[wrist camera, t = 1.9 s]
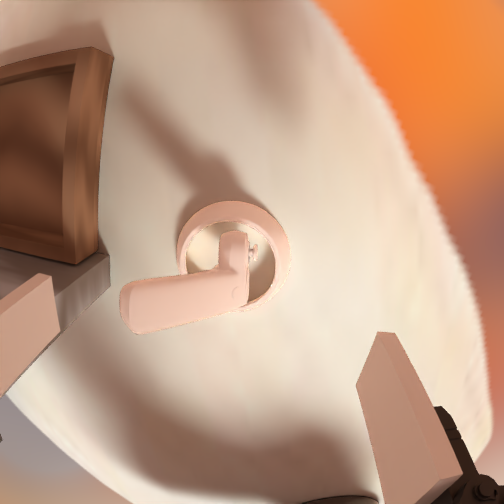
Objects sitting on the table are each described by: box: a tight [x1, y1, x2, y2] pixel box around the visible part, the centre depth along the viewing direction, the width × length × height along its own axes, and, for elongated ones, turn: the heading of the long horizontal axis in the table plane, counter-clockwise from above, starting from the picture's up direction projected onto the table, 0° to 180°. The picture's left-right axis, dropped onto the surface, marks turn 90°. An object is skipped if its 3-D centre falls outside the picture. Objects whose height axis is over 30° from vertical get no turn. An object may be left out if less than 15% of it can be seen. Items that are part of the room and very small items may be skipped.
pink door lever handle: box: [119, 200, 291, 334], centre depth 18 cm, size 8×12×7 cm
